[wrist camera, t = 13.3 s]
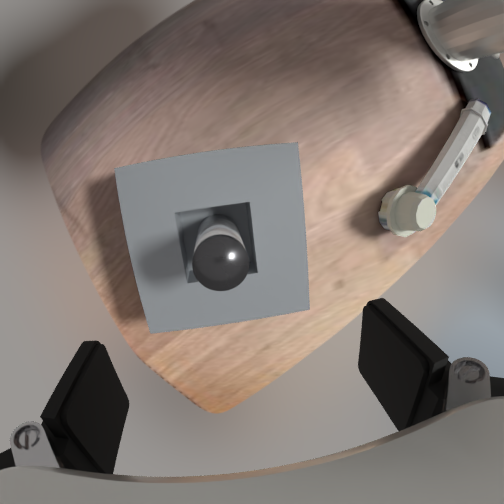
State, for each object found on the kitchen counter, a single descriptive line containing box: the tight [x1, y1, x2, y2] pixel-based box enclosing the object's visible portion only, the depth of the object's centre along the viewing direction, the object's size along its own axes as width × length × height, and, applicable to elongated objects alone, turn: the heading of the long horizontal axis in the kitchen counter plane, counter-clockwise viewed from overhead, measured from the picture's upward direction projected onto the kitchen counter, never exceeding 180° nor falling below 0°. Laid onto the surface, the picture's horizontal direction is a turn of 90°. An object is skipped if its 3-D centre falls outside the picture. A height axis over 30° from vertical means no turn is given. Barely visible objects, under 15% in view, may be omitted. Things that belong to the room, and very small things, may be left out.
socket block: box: [114, 142, 310, 333], centre depth 28 cm, size 16×16×5 cm
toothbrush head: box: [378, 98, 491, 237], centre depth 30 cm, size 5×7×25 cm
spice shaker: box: [192, 214, 249, 291], centre depth 25 cm, size 4×4×9 cm
